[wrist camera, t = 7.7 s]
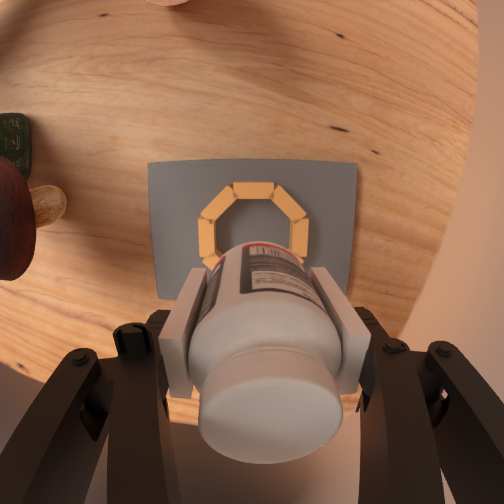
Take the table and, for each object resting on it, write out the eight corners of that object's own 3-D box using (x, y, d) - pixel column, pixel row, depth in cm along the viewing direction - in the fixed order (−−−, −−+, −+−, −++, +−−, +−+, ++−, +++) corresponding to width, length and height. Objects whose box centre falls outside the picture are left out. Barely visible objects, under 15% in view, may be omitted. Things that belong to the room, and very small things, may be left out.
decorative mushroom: (39, 251, 29) (-43, 301, 15) (23, 167, 26) (-69, 182, 11) (106, 239, 29) (19, 297, 14) (90, 141, 25) (-12, 137, 11)
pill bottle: (245, 342, 17) (244, 486, 8) (190, 273, 16) (128, 405, 6) (323, 296, 16) (389, 429, 7) (273, 218, 15) (316, 311, 5)
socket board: (151, 163, 26) (141, 163, 24) (353, 163, 27) (364, 163, 24) (161, 293, 31) (153, 306, 28) (342, 292, 31) (351, 305, 28)
